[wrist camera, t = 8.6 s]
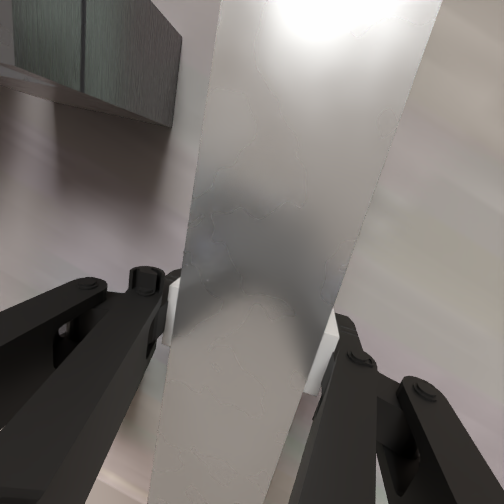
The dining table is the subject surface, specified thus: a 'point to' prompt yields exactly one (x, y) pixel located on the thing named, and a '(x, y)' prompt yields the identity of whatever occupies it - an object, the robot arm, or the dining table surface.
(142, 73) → the post
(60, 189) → the dining table surface
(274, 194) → the rail
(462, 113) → the dining table surface
